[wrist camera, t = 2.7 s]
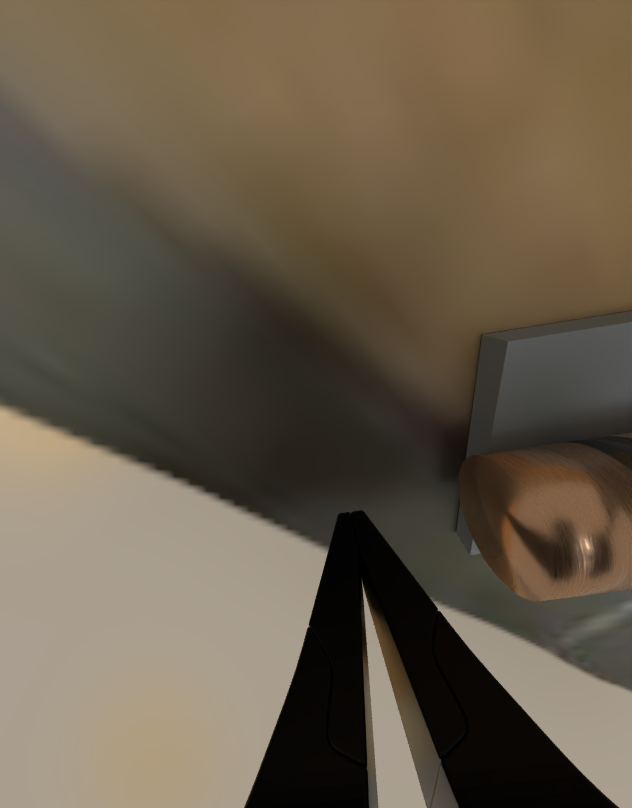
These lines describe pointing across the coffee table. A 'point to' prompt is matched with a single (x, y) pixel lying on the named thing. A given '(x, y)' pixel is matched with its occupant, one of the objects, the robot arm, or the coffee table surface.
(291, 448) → the coffee table surface
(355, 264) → the coffee table surface
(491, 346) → the board
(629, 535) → the copper tube
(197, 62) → the coffee table surface
